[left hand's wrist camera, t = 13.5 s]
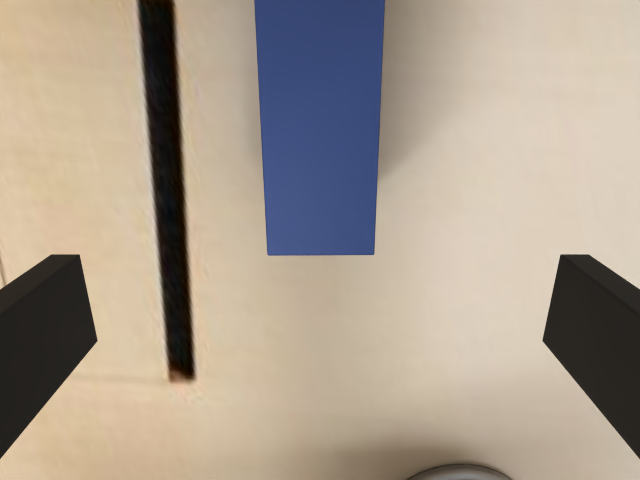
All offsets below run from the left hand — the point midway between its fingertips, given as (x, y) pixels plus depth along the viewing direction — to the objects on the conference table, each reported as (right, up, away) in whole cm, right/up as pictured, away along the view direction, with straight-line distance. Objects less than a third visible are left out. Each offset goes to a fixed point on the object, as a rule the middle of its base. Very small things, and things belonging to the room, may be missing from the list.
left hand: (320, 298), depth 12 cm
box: (0, +15, +19) cm, 24 cm away
